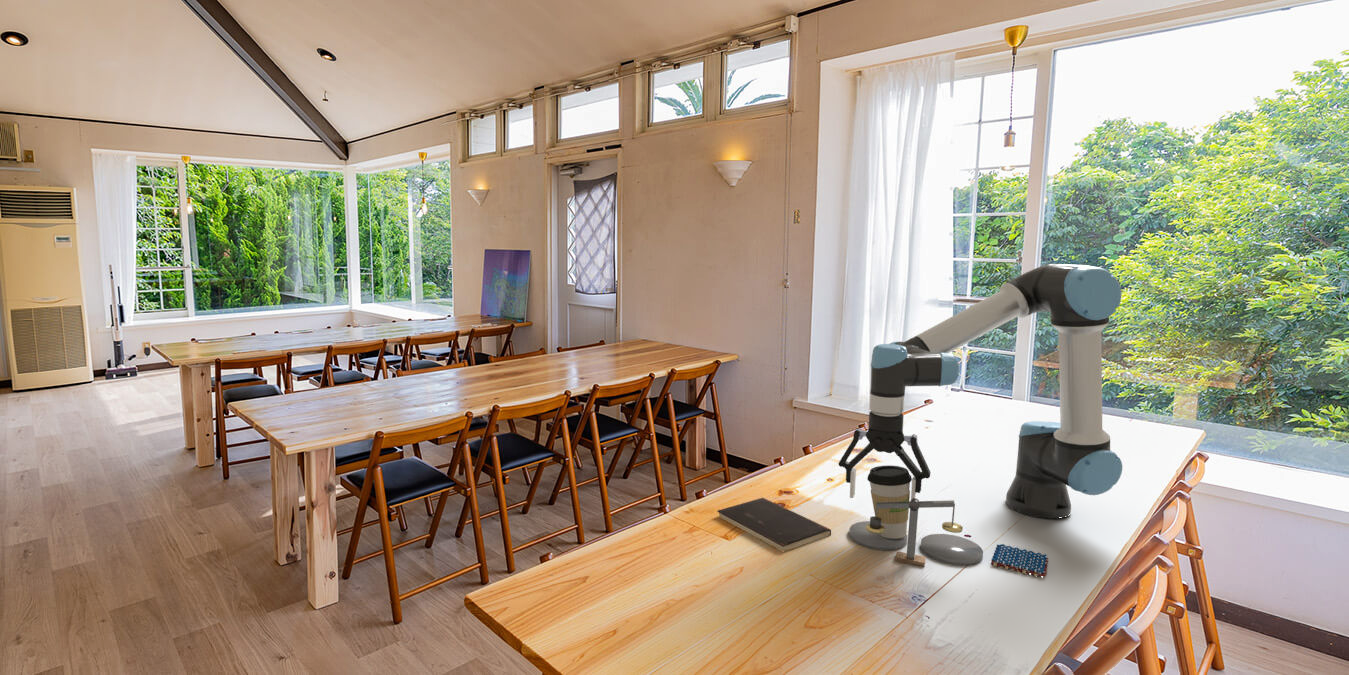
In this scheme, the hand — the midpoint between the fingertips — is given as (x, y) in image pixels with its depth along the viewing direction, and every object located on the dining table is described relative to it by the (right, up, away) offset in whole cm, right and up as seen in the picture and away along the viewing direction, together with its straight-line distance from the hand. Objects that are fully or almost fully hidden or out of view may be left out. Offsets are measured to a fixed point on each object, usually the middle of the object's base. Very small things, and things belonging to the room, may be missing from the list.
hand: (882, 500), depth 157 cm
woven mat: (+27, -12, -10) cm, 31 cm away
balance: (+3, -11, -10) cm, 15 cm away
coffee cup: (+2, -8, 0) cm, 8 cm away
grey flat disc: (+14, -10, -5) cm, 18 cm away
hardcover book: (-25, -9, +7) cm, 27 cm away
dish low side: (-1, -9, +1) cm, 9 cm away
